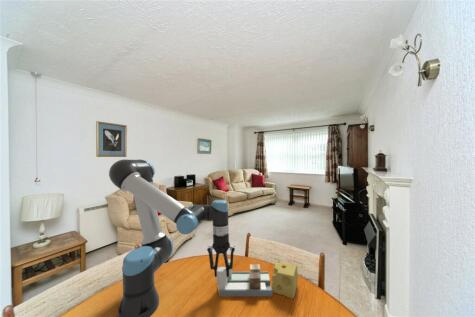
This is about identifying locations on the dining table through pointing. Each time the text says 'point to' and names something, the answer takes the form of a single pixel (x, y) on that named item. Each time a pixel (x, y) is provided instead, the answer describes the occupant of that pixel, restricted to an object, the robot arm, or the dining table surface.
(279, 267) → the cheese
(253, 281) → the walnut block
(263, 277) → the strip rear
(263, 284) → the strip front
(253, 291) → the lane board
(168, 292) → the dining table surface
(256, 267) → the maple block
